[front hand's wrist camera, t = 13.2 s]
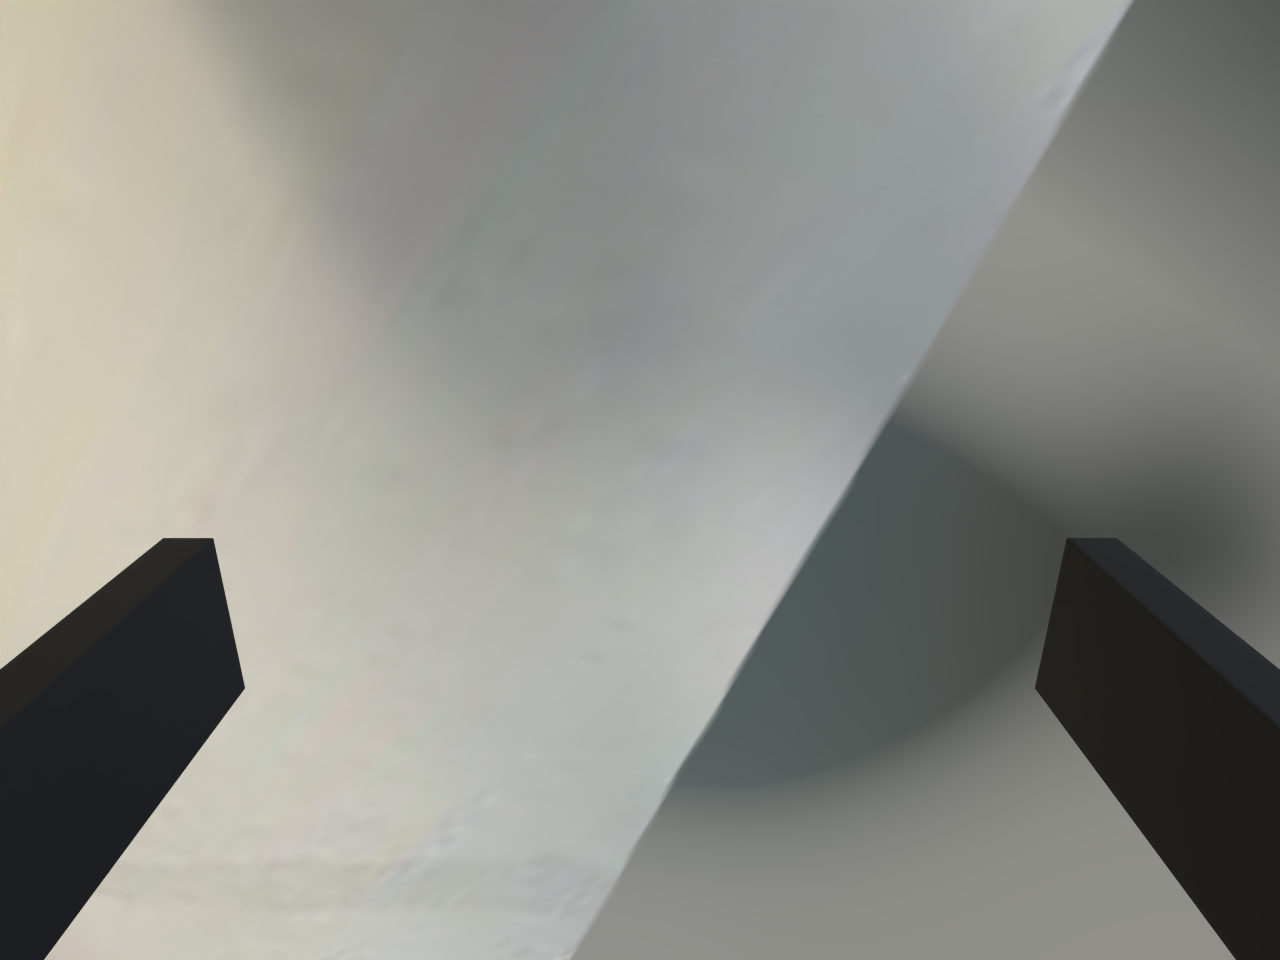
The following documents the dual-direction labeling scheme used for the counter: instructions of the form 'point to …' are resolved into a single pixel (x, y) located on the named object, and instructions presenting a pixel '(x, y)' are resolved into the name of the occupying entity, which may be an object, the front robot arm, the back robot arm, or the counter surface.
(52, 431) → the counter surface
